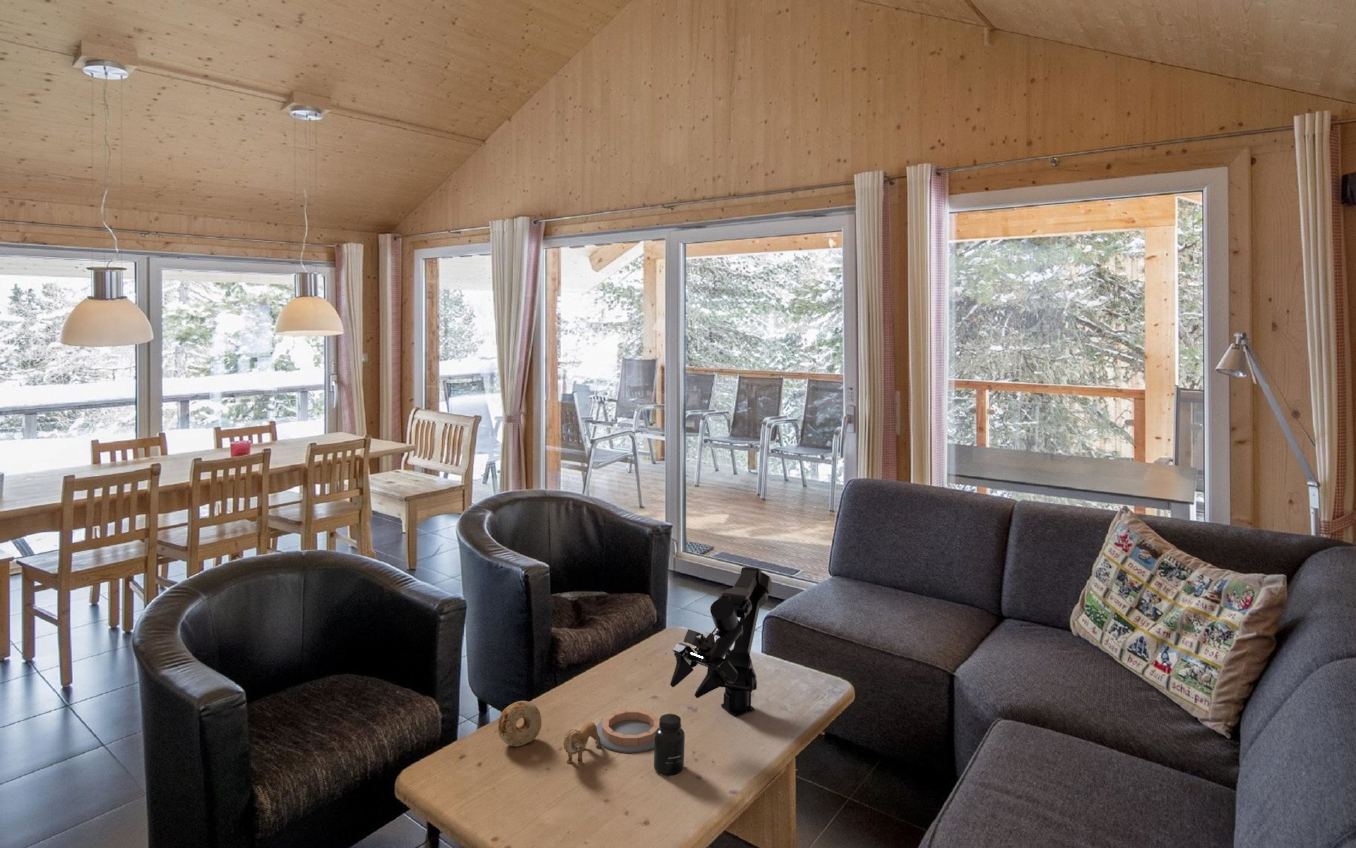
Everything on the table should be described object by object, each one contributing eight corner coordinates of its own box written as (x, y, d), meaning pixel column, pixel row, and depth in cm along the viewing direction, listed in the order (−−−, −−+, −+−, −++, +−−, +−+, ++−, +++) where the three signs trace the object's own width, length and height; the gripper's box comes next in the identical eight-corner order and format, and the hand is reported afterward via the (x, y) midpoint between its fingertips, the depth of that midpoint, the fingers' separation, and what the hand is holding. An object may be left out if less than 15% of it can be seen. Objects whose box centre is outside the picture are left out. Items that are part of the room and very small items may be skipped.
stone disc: (502, 753, 187) (502, 712, 185) (497, 746, 190) (496, 706, 188) (544, 741, 192) (543, 701, 191) (538, 734, 195) (537, 695, 194)
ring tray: (645, 708, 209) (645, 699, 208) (681, 740, 194) (681, 730, 193) (582, 726, 199) (582, 716, 199) (615, 760, 184) (615, 750, 184)
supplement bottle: (673, 780, 177) (674, 729, 175) (648, 771, 180) (648, 720, 179) (689, 766, 182) (690, 716, 181) (664, 757, 186) (665, 708, 184)
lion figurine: (580, 775, 178) (580, 737, 177) (558, 770, 180) (558, 733, 179) (604, 742, 192) (605, 706, 191) (584, 738, 194) (584, 703, 193)
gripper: (680, 609, 198) (641, 660, 191) (730, 625, 183) (690, 680, 176) (703, 638, 202) (666, 688, 195) (754, 656, 188) (715, 711, 181)
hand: (683, 691), depth 187 cm, fingers open, 9 cm apart
